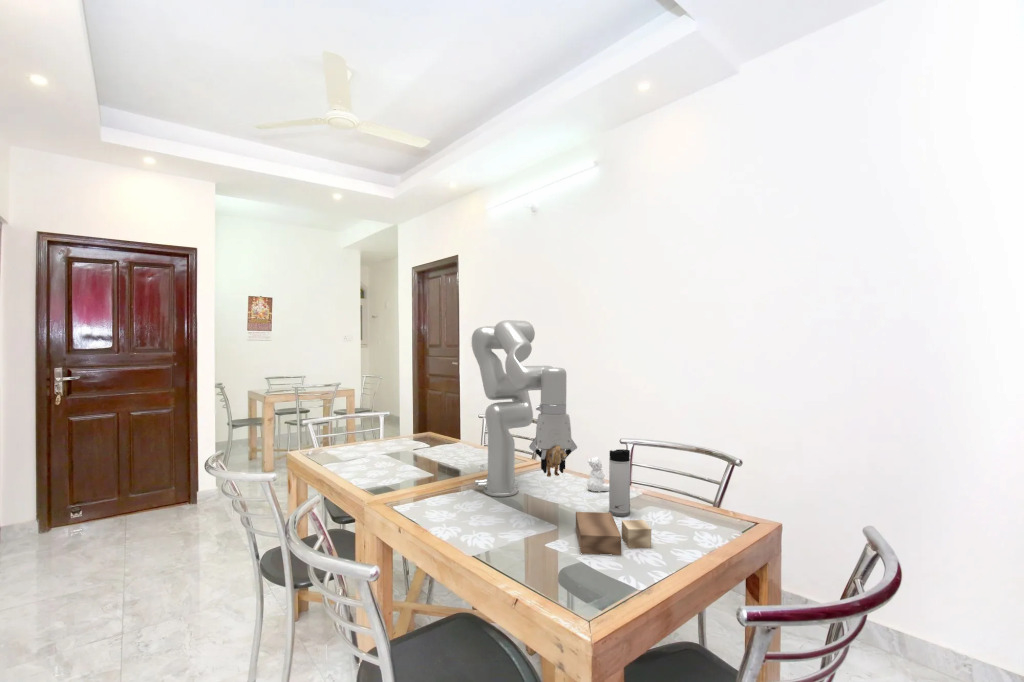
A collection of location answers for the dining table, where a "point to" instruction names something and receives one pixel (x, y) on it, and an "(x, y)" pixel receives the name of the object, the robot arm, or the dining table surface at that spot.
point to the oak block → (636, 534)
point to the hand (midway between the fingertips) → (553, 471)
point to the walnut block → (597, 533)
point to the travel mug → (619, 482)
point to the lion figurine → (554, 459)
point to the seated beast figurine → (596, 476)
